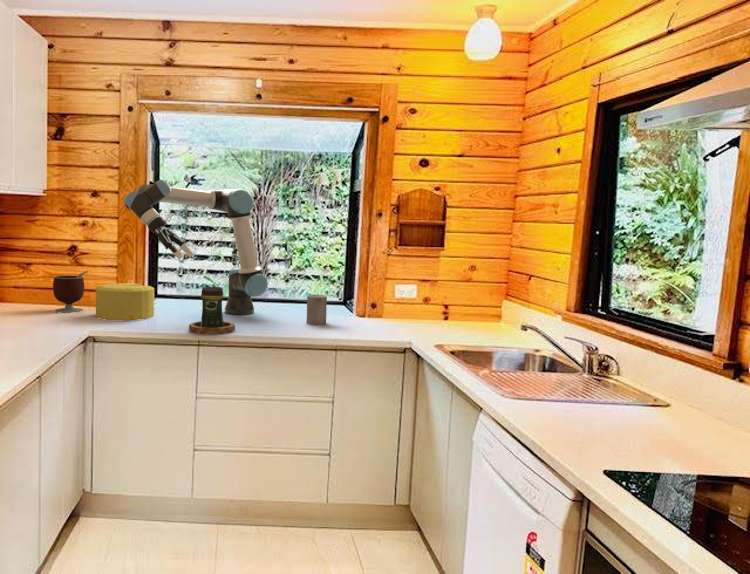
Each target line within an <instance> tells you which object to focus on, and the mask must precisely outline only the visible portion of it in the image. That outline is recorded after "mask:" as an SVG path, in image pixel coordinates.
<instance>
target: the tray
mask: <svg viewBox="0 0 750 574" xmlns="http://www.w3.org/2000/svg"><path fill="white" fill-rule="evenodd" d="M189 330H190V332H191V333H192V332H193V333H194V334H198V335H225V334H231V333H233V332H235V331H236V324H235V323H234V322H231V321H226V320H225V321H224V320H223V327H219V328H205V327H201V320H200V321H194V322H191V323H188V331H189ZM234 330H235V331H234Z"/></svg>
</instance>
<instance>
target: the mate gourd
mask: <svg viewBox="0 0 750 574" xmlns="http://www.w3.org/2000/svg"><path fill="white" fill-rule="evenodd" d="M86 273H88V270H86V271H82V272H81V273H79V274H78V275H56V276H55V275H54V276H53V281H52V292H53V297H54V298H55V299H56V300H57V301H58V302H61V303H64V305H65V306H64V307H61V308H55V309H54V310H55V311H56V312H55V311H54V312H55V313H58V312H61V313H60V314H62V313H63V314H72V313H71V312H76V313H81V312H83V311H84V310H83V308H79V307H74V306H73V304H75V303H77V302H79V301H81V300H82V298H83V296H84V293H85V281H84V276H83V275H85V274H86ZM80 311H81V312H80Z"/></svg>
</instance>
